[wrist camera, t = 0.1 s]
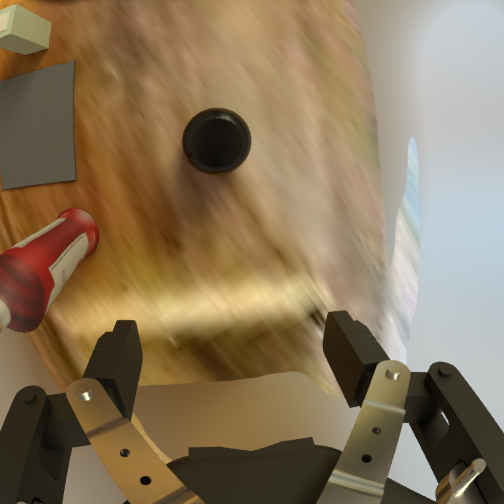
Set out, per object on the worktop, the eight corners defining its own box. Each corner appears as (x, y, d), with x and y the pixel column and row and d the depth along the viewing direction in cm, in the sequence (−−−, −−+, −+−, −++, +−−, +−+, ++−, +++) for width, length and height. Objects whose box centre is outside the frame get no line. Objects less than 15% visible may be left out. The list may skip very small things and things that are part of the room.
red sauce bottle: (88, 265, 41) (-9, 414, 15) (49, 235, 39) (-76, 356, 13) (112, 224, 39) (2, 364, 14) (71, 193, 37) (-76, 293, 11)
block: (28, 30, 27) (-10, 14, 18) (51, 23, 27) (15, 3, 18) (25, 55, 28) (-16, 43, 19) (48, 48, 29) (10, 33, 20)
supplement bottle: (188, 111, 36) (178, 103, 25) (244, 112, 36) (259, 104, 25) (187, 166, 38) (177, 181, 27) (242, 166, 39) (255, 181, 28)
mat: (0, 82, 29) (-1, 82, 29) (75, 61, 31) (74, 60, 30) (4, 189, 35) (2, 189, 35) (76, 179, 36) (75, 179, 36)
